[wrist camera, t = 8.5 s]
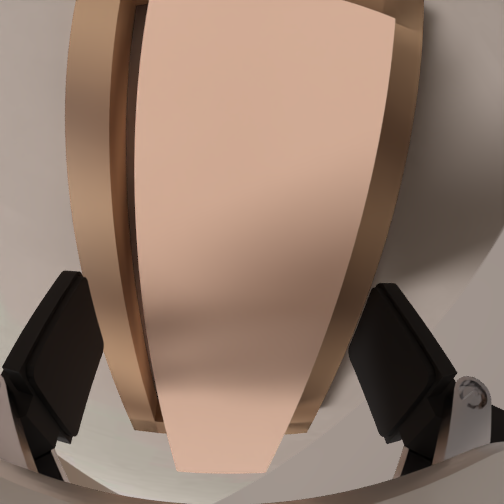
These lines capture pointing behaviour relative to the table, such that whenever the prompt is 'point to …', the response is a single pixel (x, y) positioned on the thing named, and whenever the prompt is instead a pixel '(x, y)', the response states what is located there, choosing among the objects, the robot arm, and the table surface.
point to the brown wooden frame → (116, 206)
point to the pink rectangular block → (249, 206)
